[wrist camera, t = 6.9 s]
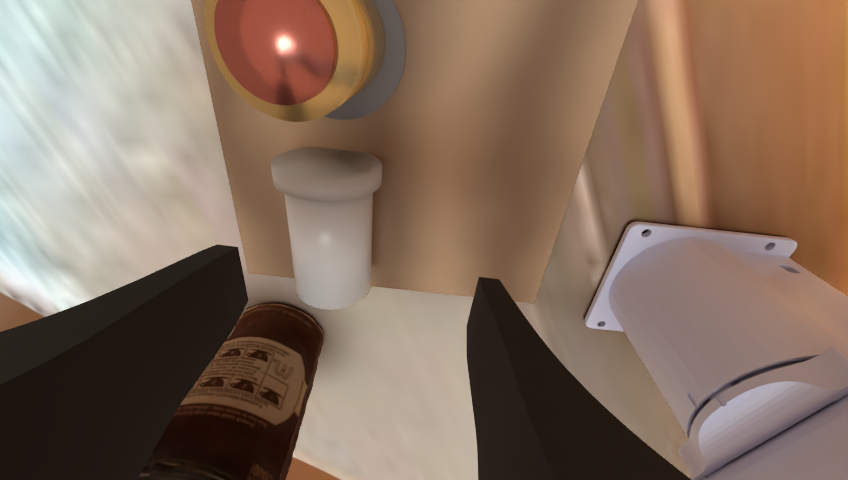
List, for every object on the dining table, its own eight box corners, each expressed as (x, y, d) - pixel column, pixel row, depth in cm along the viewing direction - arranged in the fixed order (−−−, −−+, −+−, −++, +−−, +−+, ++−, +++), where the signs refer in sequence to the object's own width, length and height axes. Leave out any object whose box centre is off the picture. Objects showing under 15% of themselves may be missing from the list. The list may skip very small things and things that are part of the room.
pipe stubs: (414, -428, 9) (391, -784, 5) (383, 264, 21) (369, 319, 17) (236, -450, 9) (74, -827, 5) (305, 255, 21) (273, 309, 17)
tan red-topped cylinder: (387, -22, 14) (352, -54, 8) (385, 98, 16) (356, 132, 11) (274, -31, 14) (168, -70, 8) (289, 90, 16) (213, 120, 11)
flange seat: (410, -33, 13) (410, -34, 13) (401, 125, 17) (400, 126, 16) (256, -51, 13) (254, -52, 13) (276, 111, 16) (274, 112, 16)
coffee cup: (214, 277, 23) (5, 502, 12) (337, 293, 23) (242, 529, 12) (234, 363, 28) (95, 585, 17) (338, 375, 28) (268, 603, 17)
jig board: (779, -463, 9) (814, -513, 8) (530, 292, 23) (533, 303, 22) (99, -549, 9) (63, -609, 8) (255, 264, 22) (248, 273, 22)
